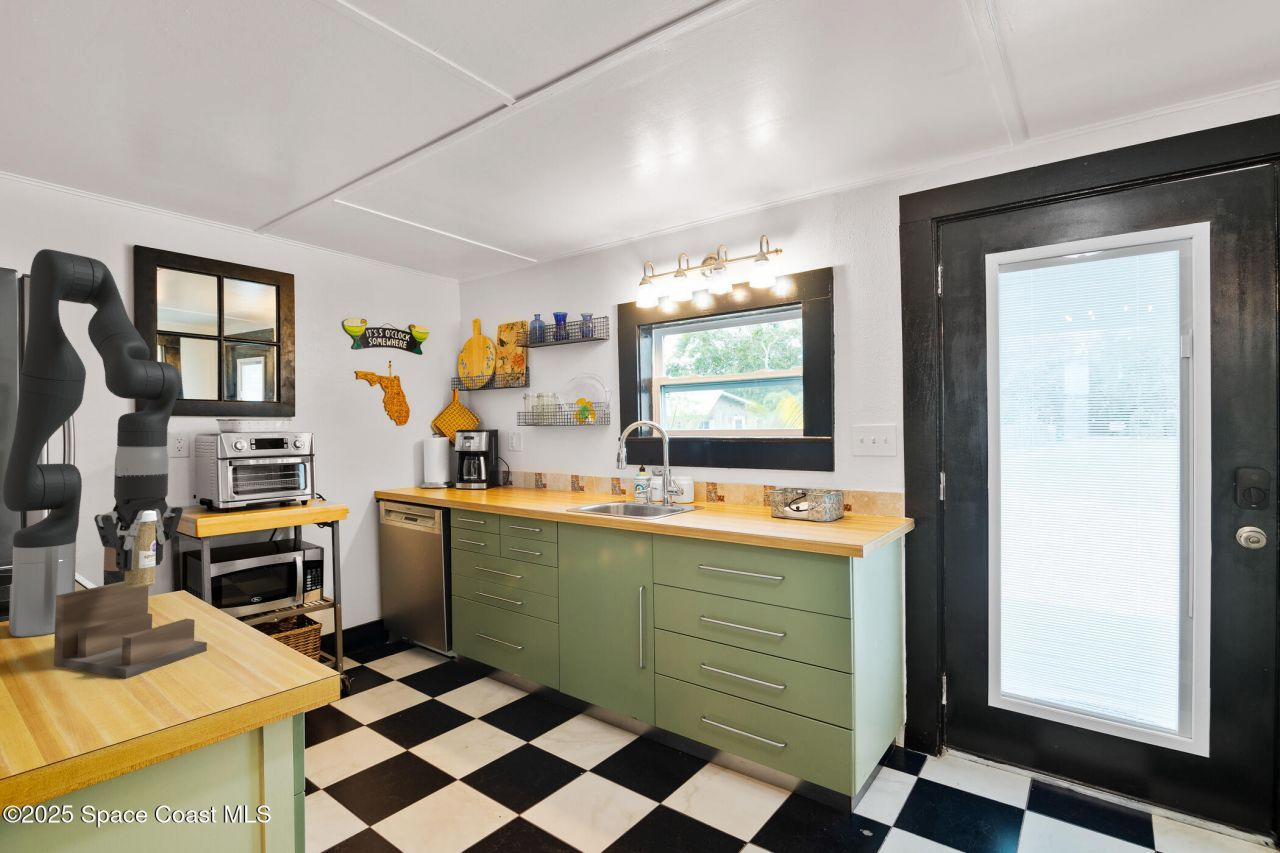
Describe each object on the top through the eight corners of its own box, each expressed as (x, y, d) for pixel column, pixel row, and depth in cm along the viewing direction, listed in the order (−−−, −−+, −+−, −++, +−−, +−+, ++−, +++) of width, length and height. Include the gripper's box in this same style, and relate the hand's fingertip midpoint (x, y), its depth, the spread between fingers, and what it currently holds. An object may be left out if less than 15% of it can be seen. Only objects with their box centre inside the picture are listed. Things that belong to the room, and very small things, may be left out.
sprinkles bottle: (154, 587, 111) (156, 511, 112) (121, 590, 109) (123, 512, 109) (156, 581, 115) (158, 508, 115) (124, 584, 113) (126, 509, 113)
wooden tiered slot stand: (53, 665, 108) (55, 595, 108) (139, 640, 121) (141, 577, 121) (126, 678, 103) (128, 605, 103) (206, 650, 116) (208, 585, 117)
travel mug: (148, 605, 145) (150, 518, 145) (105, 611, 139) (107, 521, 139) (142, 598, 150) (144, 514, 150) (100, 604, 144) (102, 517, 144)
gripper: (166, 469, 120) (164, 559, 120) (81, 473, 106) (79, 574, 106) (196, 470, 118) (194, 561, 118) (113, 474, 104) (111, 578, 104)
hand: (139, 567), depth 112 cm, fingers closed on sprinkles bottle, 4 cm apart
